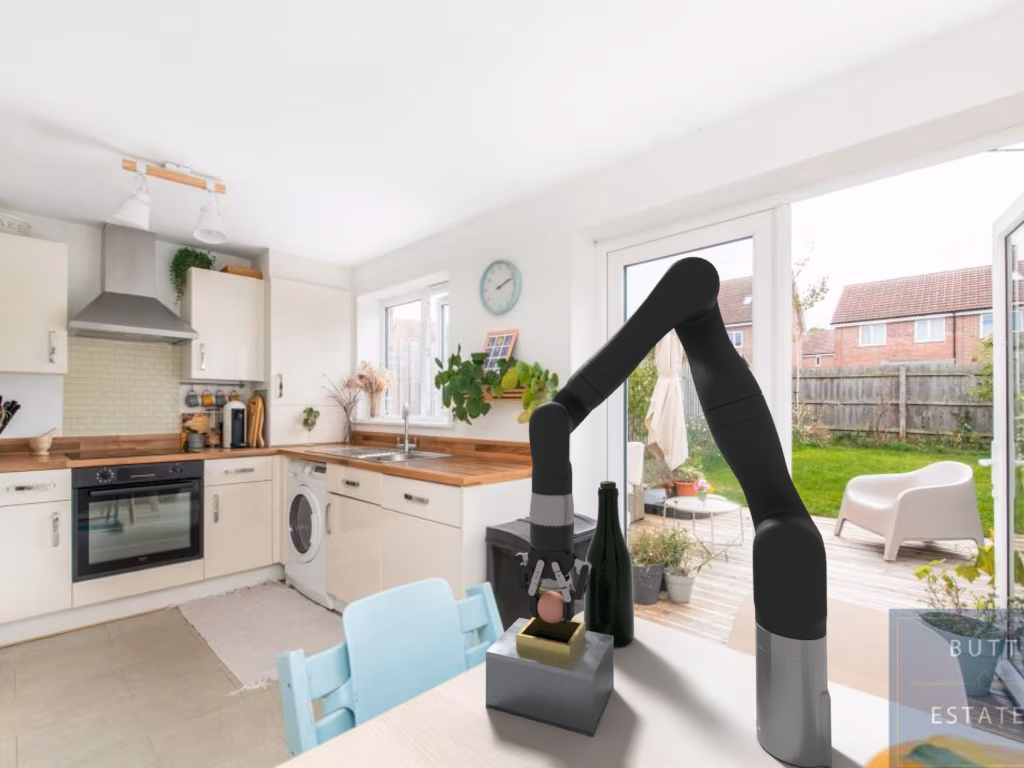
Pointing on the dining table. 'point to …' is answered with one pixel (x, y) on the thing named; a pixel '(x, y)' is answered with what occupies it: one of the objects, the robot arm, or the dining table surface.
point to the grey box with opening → (551, 673)
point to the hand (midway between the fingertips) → (551, 618)
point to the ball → (551, 607)
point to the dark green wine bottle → (609, 574)
